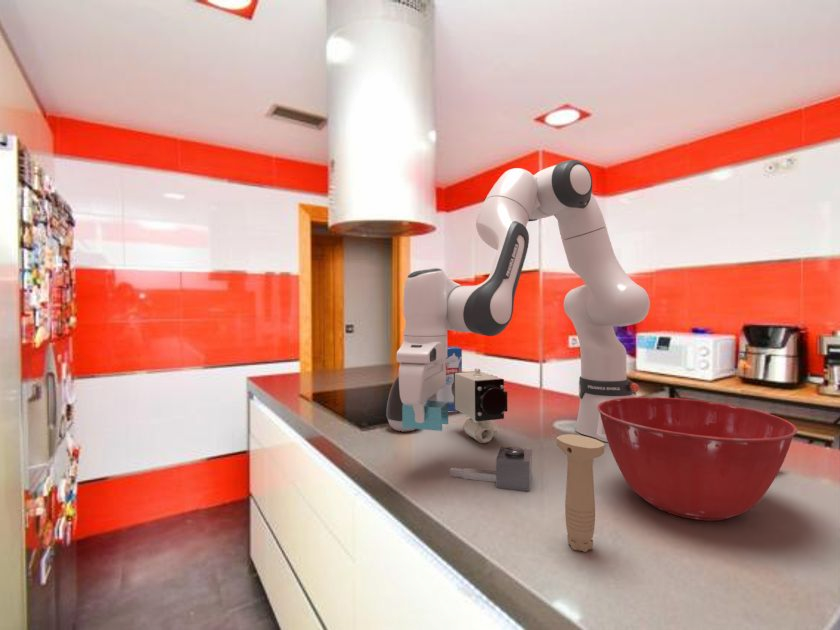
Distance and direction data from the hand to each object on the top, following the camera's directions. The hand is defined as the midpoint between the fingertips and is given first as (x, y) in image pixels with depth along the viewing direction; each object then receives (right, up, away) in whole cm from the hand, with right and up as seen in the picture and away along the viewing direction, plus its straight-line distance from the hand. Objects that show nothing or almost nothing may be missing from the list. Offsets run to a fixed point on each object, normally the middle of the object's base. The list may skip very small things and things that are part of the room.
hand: (425, 417), depth 90 cm
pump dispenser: (-5, -11, +31) cm, 33 cm away
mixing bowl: (+45, -12, -14) cm, 48 cm away
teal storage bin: (0, -2, 0) cm, 2 cm away
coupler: (+12, -11, -4) cm, 17 cm away
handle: (+21, -12, -27) cm, 37 cm away
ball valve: (+14, -11, +22) cm, 28 cm away
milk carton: (+7, -10, +52) cm, 53 cm away
